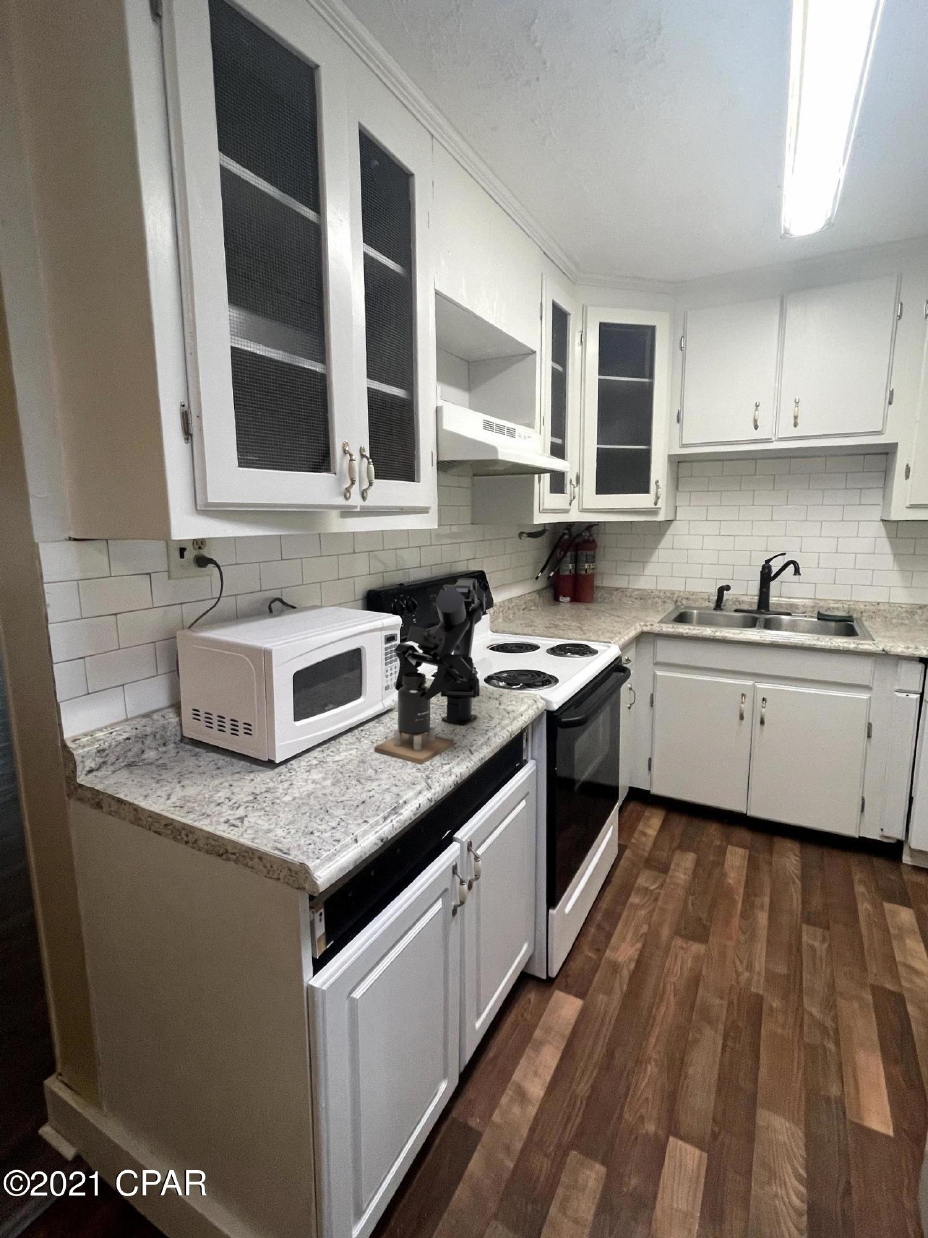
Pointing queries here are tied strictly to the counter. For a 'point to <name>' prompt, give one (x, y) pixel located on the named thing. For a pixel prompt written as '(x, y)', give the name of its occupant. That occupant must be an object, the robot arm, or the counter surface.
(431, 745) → the peg stand
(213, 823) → the counter surface
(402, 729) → the supplement bottle
